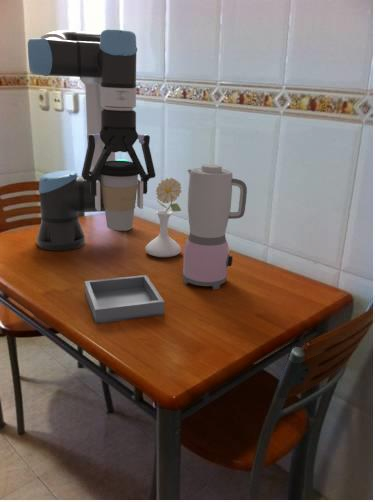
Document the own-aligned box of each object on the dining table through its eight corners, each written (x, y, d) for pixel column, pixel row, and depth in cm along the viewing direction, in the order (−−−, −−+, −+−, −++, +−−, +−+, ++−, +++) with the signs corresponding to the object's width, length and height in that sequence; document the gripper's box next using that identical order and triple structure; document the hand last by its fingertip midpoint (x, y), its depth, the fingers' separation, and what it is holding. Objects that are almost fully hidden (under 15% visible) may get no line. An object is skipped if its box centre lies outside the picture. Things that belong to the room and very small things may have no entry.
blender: (177, 286, 123) (181, 167, 112) (187, 270, 134) (192, 160, 123) (235, 294, 120) (246, 173, 109) (241, 277, 131) (251, 165, 120)
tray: (85, 293, 117) (84, 281, 116) (146, 287, 122) (146, 275, 121) (95, 323, 103) (95, 309, 102) (163, 314, 108) (164, 301, 107)
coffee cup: (132, 234, 104) (132, 168, 99) (93, 230, 106) (91, 165, 101) (144, 223, 113) (145, 161, 108) (107, 219, 115) (106, 158, 109)
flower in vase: (137, 252, 146) (138, 174, 138) (165, 245, 154) (167, 171, 145) (163, 265, 137) (165, 182, 129) (191, 257, 145) (195, 178, 136)
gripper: (68, 108, 93) (73, 215, 101) (172, 111, 100) (168, 210, 108) (64, 105, 99) (69, 206, 107) (162, 108, 107) (159, 202, 115)
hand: (119, 208), depth 108 cm, fingers closed on coffee cup, 9 cm apart
